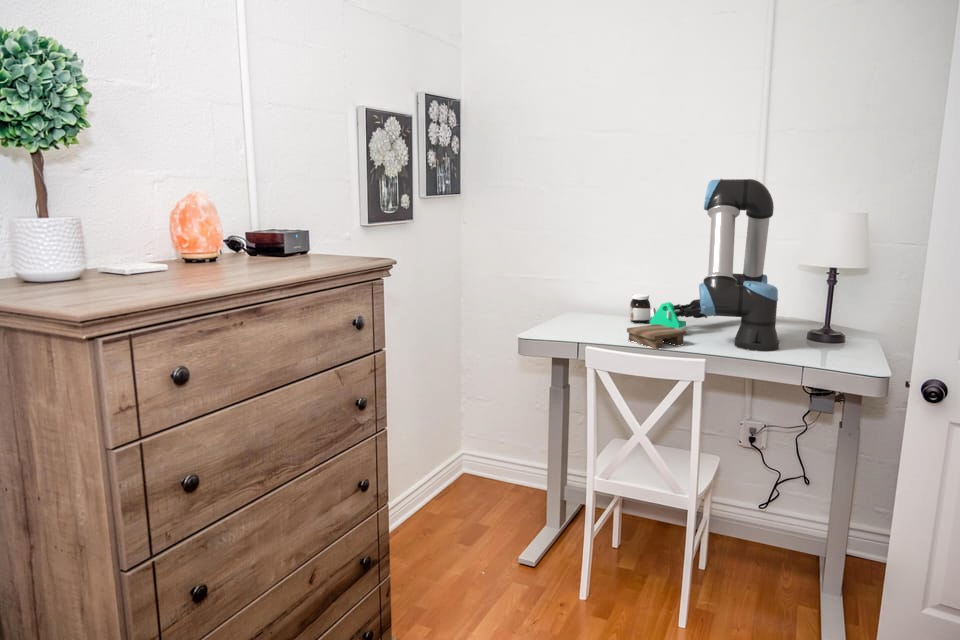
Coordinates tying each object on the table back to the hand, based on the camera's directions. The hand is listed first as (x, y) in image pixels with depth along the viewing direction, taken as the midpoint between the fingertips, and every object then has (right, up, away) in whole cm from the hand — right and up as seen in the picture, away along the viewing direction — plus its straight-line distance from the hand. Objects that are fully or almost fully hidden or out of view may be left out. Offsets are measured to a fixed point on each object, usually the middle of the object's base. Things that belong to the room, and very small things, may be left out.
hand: (662, 313), depth 268 cm
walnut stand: (-6, -11, -12) cm, 17 cm away
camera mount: (+3, -6, +4) cm, 8 cm away
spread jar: (-1, -4, +25) cm, 25 cm away
